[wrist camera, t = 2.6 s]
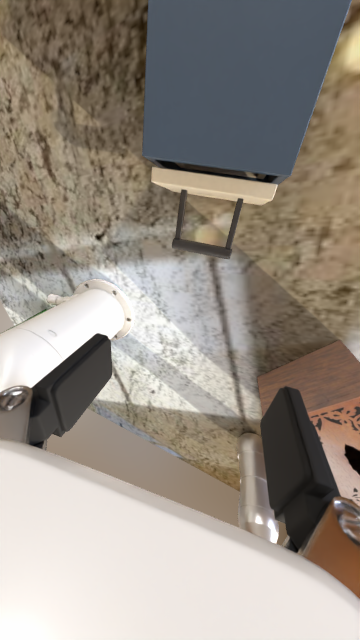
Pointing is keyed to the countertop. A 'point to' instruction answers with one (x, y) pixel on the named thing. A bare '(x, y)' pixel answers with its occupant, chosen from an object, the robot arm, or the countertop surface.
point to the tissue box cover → (327, 406)
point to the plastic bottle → (254, 489)
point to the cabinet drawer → (216, 189)
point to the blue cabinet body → (235, 81)
